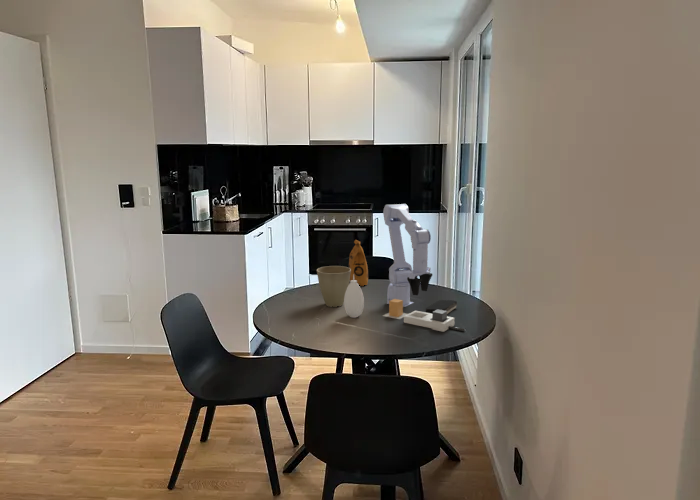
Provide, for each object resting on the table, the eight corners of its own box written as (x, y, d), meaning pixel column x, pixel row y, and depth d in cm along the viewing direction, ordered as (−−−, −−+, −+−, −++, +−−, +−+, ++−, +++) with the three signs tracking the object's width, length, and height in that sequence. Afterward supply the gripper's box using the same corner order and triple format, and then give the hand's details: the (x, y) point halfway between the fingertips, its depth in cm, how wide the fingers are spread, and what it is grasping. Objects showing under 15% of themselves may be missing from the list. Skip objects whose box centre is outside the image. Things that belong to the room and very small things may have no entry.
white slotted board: (403, 323, 199) (403, 316, 199) (415, 317, 206) (415, 310, 206) (458, 334, 186) (459, 326, 185) (469, 328, 193) (469, 320, 192)
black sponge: (443, 319, 205) (443, 310, 205) (424, 315, 210) (424, 307, 209) (458, 308, 219) (458, 300, 218) (439, 306, 223) (439, 297, 223)
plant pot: (311, 307, 222) (310, 271, 219) (326, 299, 236) (325, 265, 233) (343, 311, 217) (343, 274, 214) (356, 302, 230) (356, 267, 227)
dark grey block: (432, 327, 195) (432, 311, 194) (437, 324, 198) (437, 309, 197) (441, 329, 192) (442, 313, 191) (446, 326, 195) (446, 311, 194)
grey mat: (382, 316, 208) (382, 315, 208) (392, 312, 214) (392, 310, 214) (399, 320, 203) (399, 319, 203) (409, 315, 209) (409, 314, 209)
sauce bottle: (354, 313, 213) (353, 271, 210) (367, 317, 208) (367, 273, 204) (340, 317, 208) (339, 274, 205) (354, 321, 202) (353, 277, 199)
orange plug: (389, 315, 208) (389, 301, 207) (394, 312, 211) (394, 298, 210) (397, 317, 206) (397, 302, 205) (402, 314, 209) (402, 300, 208)
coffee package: (349, 286, 258) (348, 243, 254) (348, 281, 270) (347, 239, 266) (368, 286, 258) (368, 243, 254) (367, 280, 270) (367, 239, 266)
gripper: (420, 264, 197) (420, 298, 199) (437, 257, 208) (436, 290, 211) (404, 262, 201) (404, 295, 203) (421, 256, 212) (421, 287, 215)
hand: (419, 292), depth 207 cm, fingers open, 7 cm apart
